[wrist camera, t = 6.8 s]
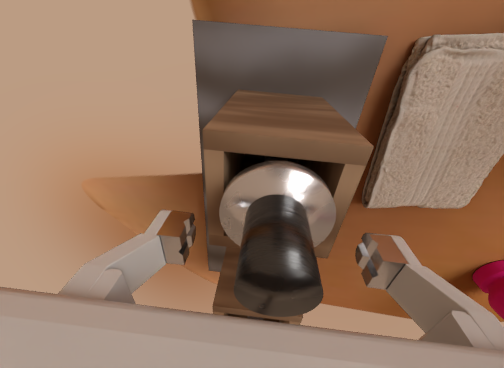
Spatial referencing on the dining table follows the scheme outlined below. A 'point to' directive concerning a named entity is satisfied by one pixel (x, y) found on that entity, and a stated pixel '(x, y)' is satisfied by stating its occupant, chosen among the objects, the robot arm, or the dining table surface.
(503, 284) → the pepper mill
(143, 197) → the dining table surface
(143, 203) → the dining table surface
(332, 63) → the grey holder stand
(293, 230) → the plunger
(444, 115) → the washcloth
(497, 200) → the dining table surface
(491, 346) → the robot arm
